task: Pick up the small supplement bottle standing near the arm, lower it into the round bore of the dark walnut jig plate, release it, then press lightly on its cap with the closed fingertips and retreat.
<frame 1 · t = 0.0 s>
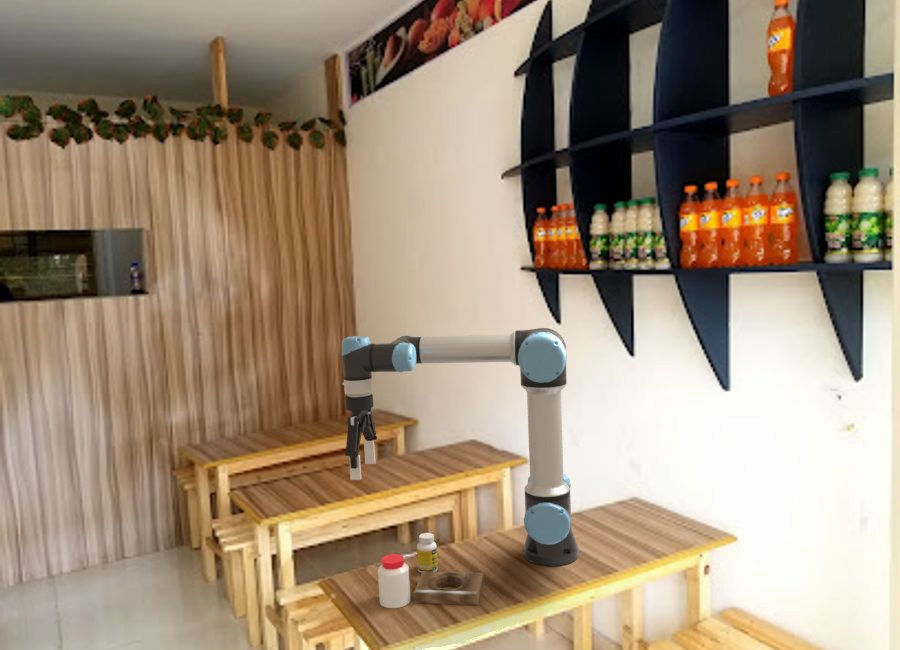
hand: (363, 471, 192), 28 cm above the table, fingers open, 13 cm apart
supplement bottle: (428, 570, 194), on the table
pill bottle: (395, 601, 177), on the table
jig: (449, 592, 181), on the table
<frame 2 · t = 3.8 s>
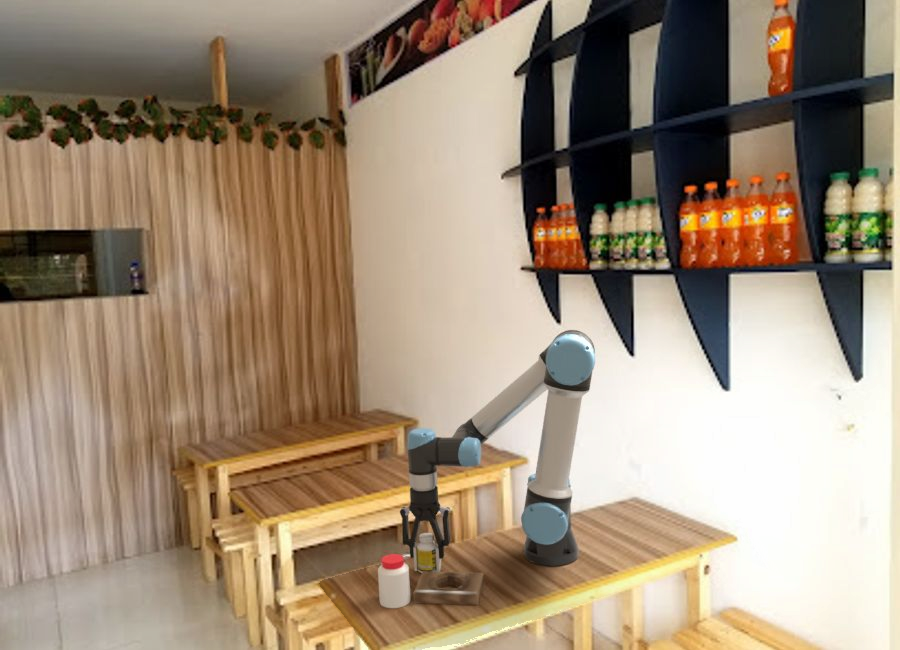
hand: (427, 568, 194), 0 cm above the table, fingers closed on supplement bottle, 5 cm apart
supplement bottle: (427, 570, 194), on the table, touching gripper
everything else where it was.
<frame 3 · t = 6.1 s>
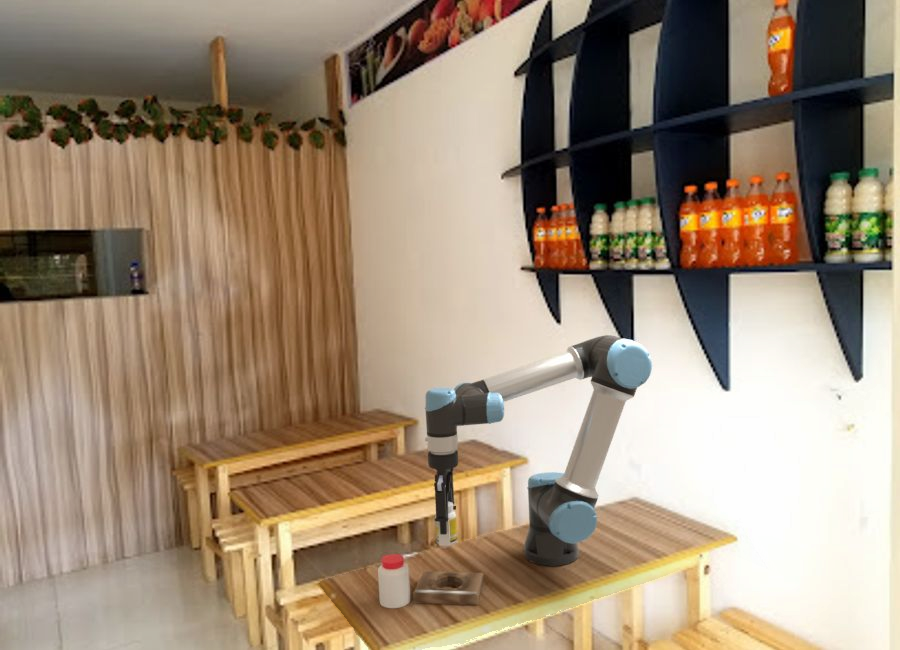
hand: (446, 540, 179), 14 cm above the table, fingers closed on supplement bottle, 5 cm apart
supplement bottle: (446, 542, 179), point 13 cm above the table, touching gripper
everything else where it was.
when the fingers open (3 cm above the table, at t = 8.6 s): supplement bottle drops 3 cm, resting in jig.
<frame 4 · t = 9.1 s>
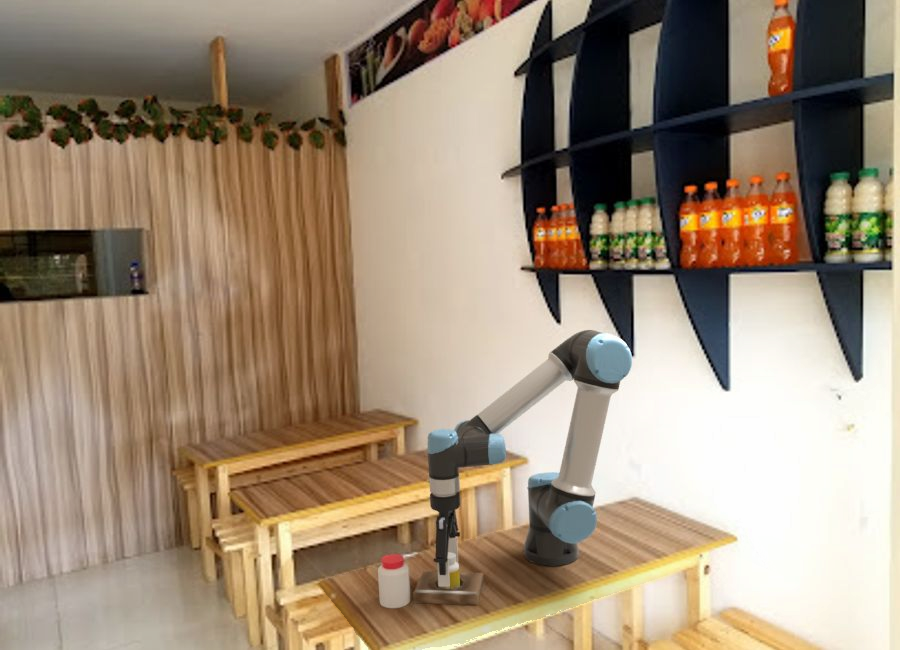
hand: (448, 573, 180), 5 cm above the table, fingers open, 13 cm apart
supplement bottle: (449, 593, 180), resting in jig
everything else where it was.
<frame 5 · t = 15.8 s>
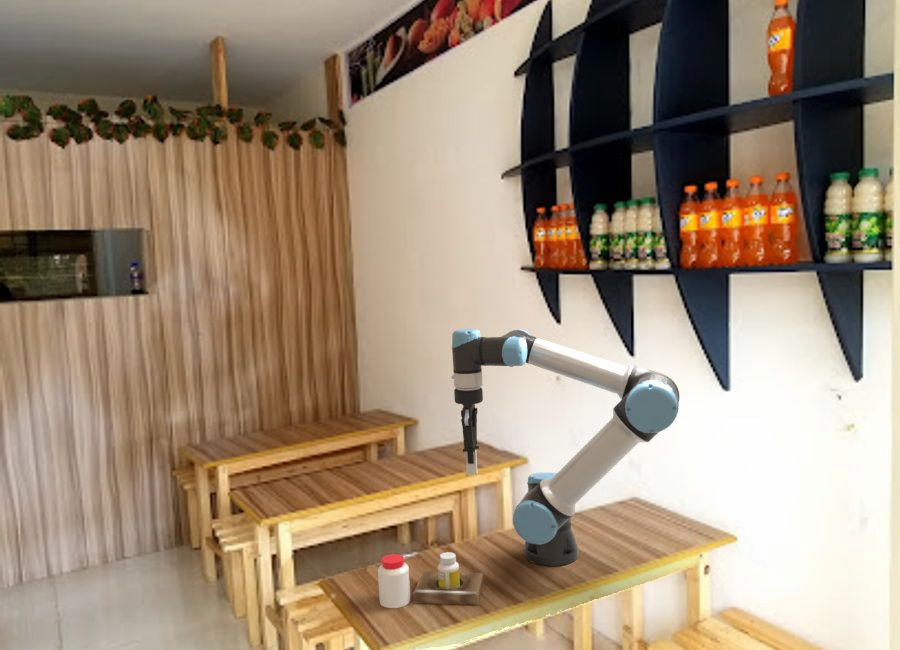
hand: (472, 474, 191), 26 cm above the table, fingers closed
nothing on the table moved.
at the end: supplement bottle 0.1 cm off-centre in the jig, point 0.0 cm above the jig's base; supplement bottle tilted 0°; the gripper is holding nothing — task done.
